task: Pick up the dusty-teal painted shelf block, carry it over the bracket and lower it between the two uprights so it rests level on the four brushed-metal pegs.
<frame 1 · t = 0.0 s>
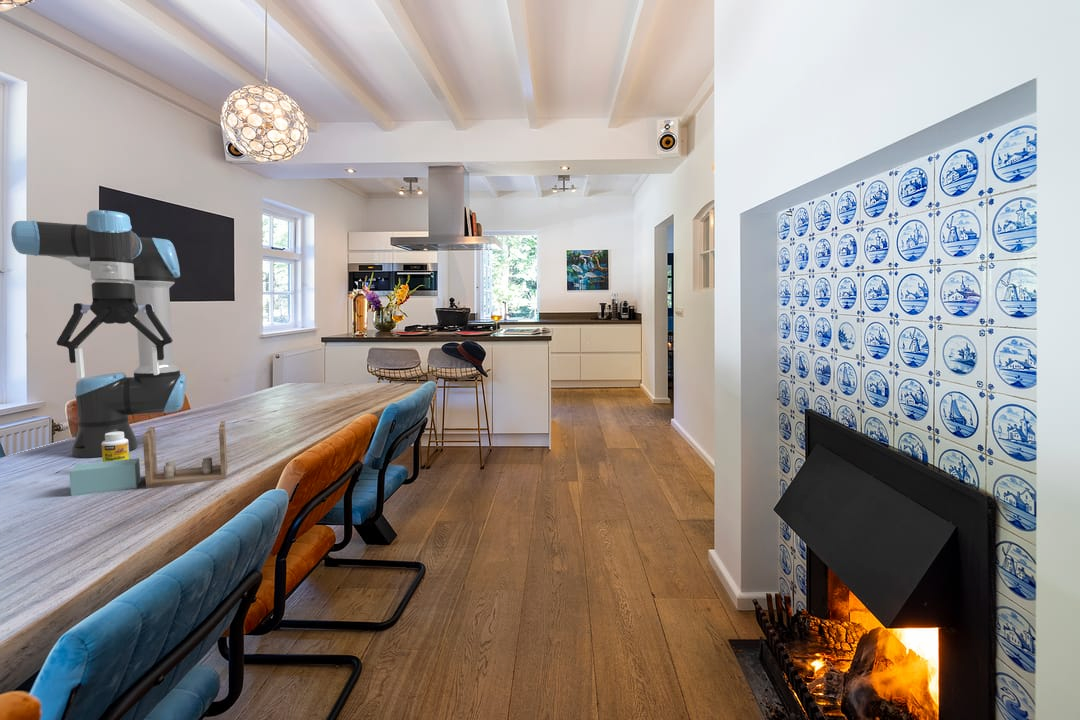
hand: (119, 376, 118), 28 cm above the table, fingers open, 13 cm apart
shelf board: (107, 488, 125), on the table
supplement bottle: (117, 471, 138), on the table
peg bracket: (189, 477, 133), on the table
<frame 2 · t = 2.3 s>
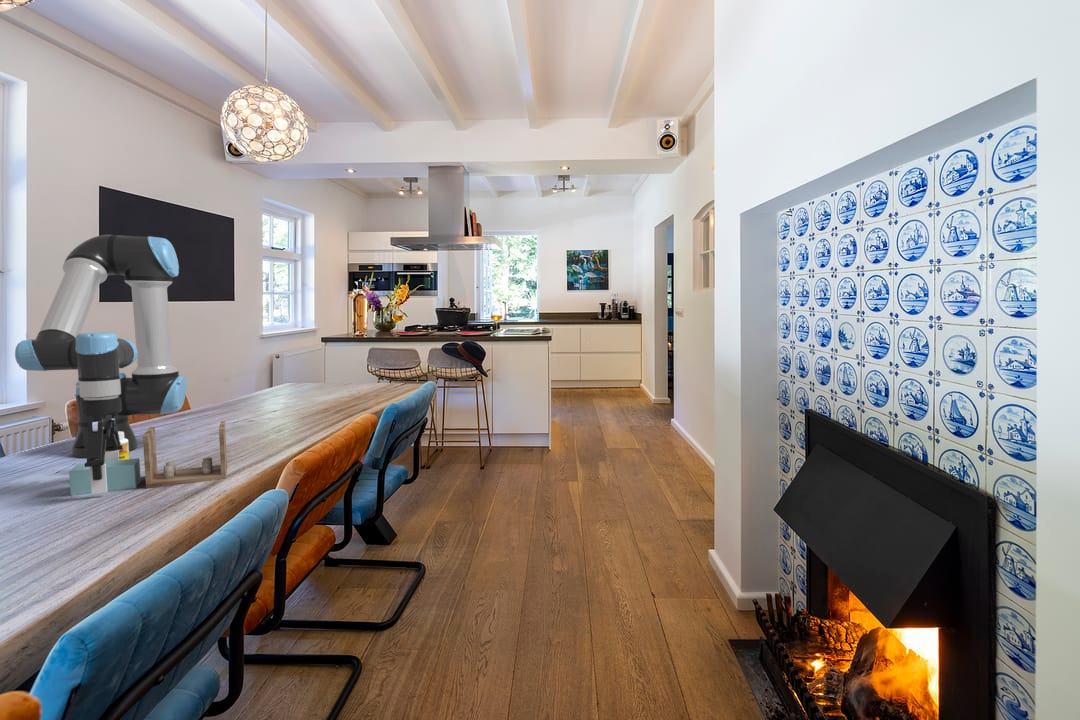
hand: (106, 484, 124), 1 cm above the table, fingers open, 13 cm apart
nothing on the table moved.
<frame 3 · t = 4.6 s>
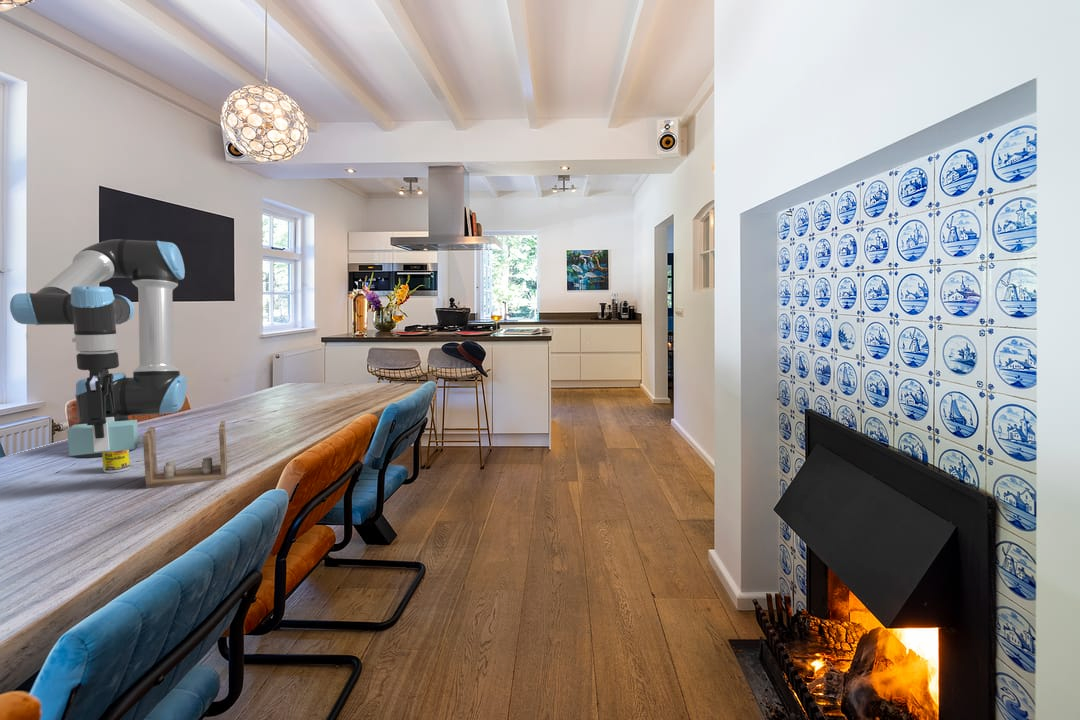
hand: (105, 446, 124), 10 cm above the table, fingers closed on shelf board, 6 cm apart
shelf board: (105, 449, 124), point 9 cm above the table, touching gripper
everything else where it was.
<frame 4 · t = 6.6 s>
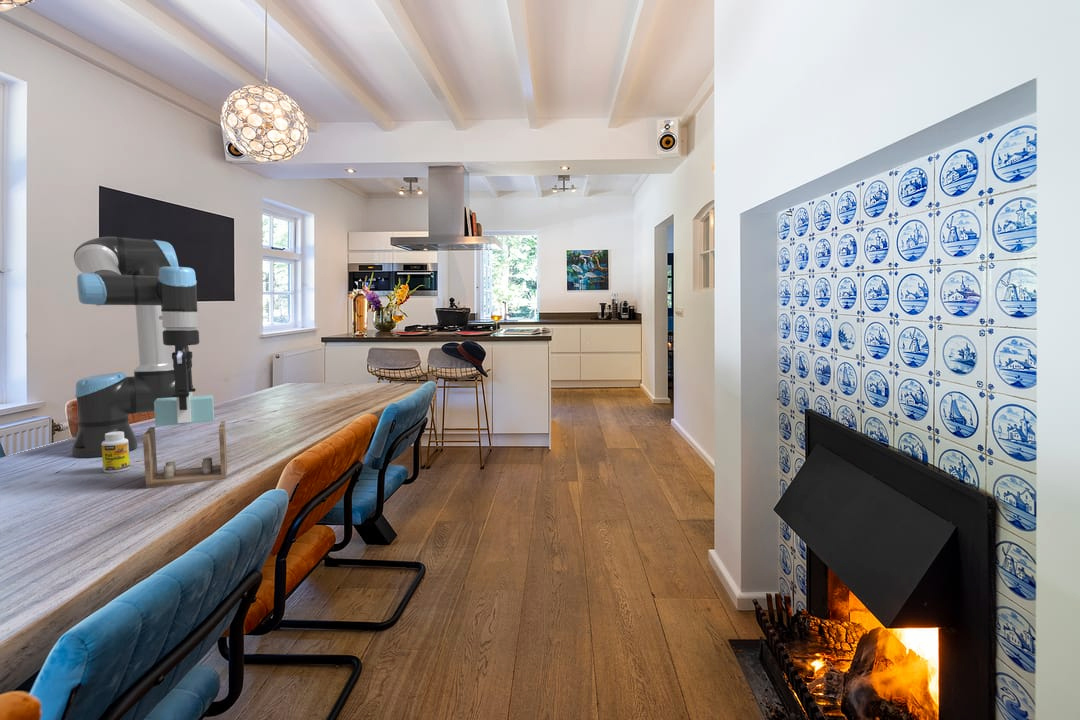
hand: (186, 419, 131), 15 cm above the table, fingers closed on shelf board, 6 cm apart
shelf board: (185, 421, 131), point 15 cm above the table, touching gripper
everything else where it was.
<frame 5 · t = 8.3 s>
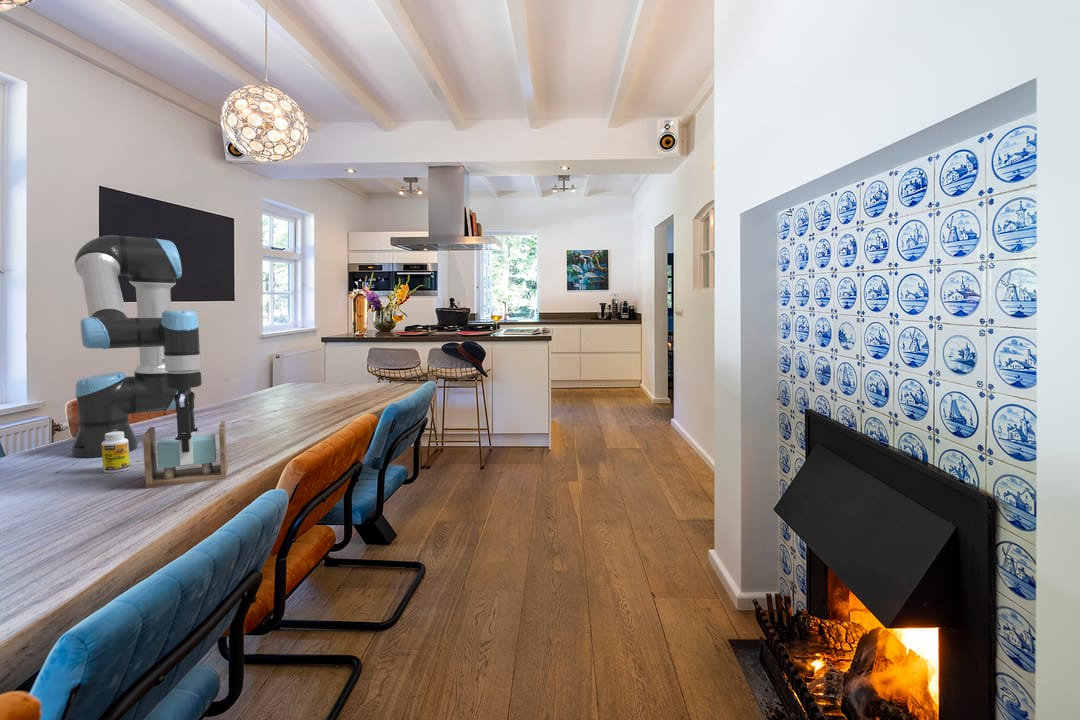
hand: (188, 460, 132), 4 cm above the table, fingers closed on shelf board, 6 cm apart
shelf board: (188, 462, 132), point 4 cm above the table, touching gripper, peg bracket
everything else where it was.
when the fingers open (4 cm above the table, at t = 9.2 s): shelf board stays where it is, resting on peg bracket.
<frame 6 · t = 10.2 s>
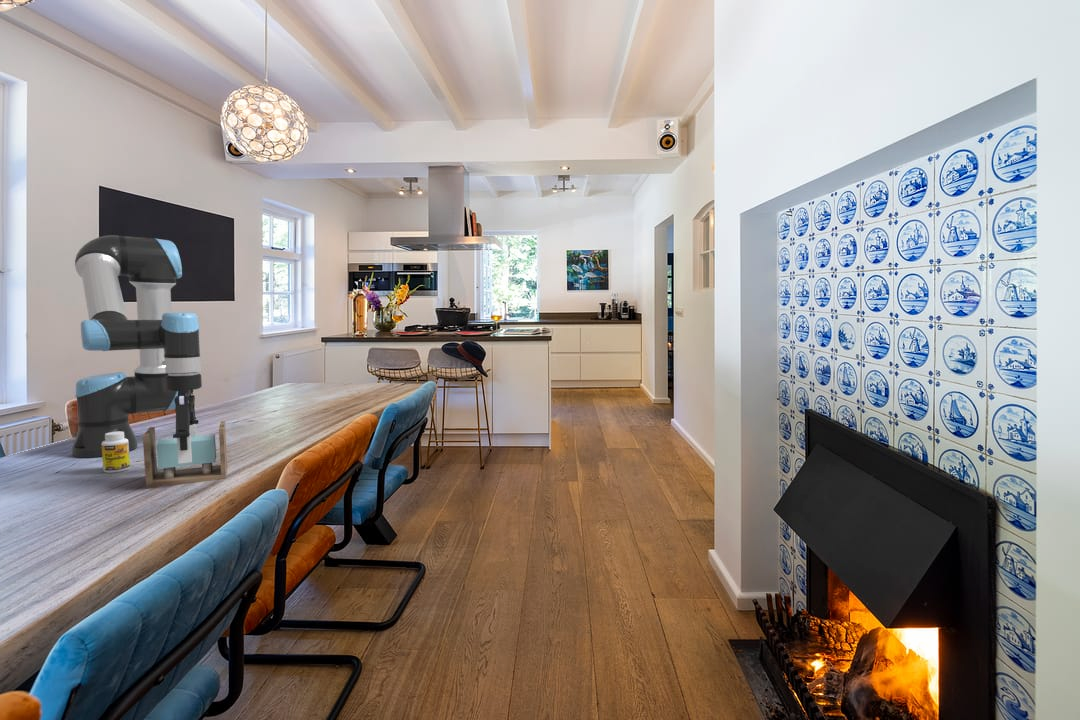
hand: (188, 455, 132), 6 cm above the table, fingers open, 13 cm apart
shelf board: (188, 462, 132), point 4 cm above the table, touching peg bracket
everything else where it was.
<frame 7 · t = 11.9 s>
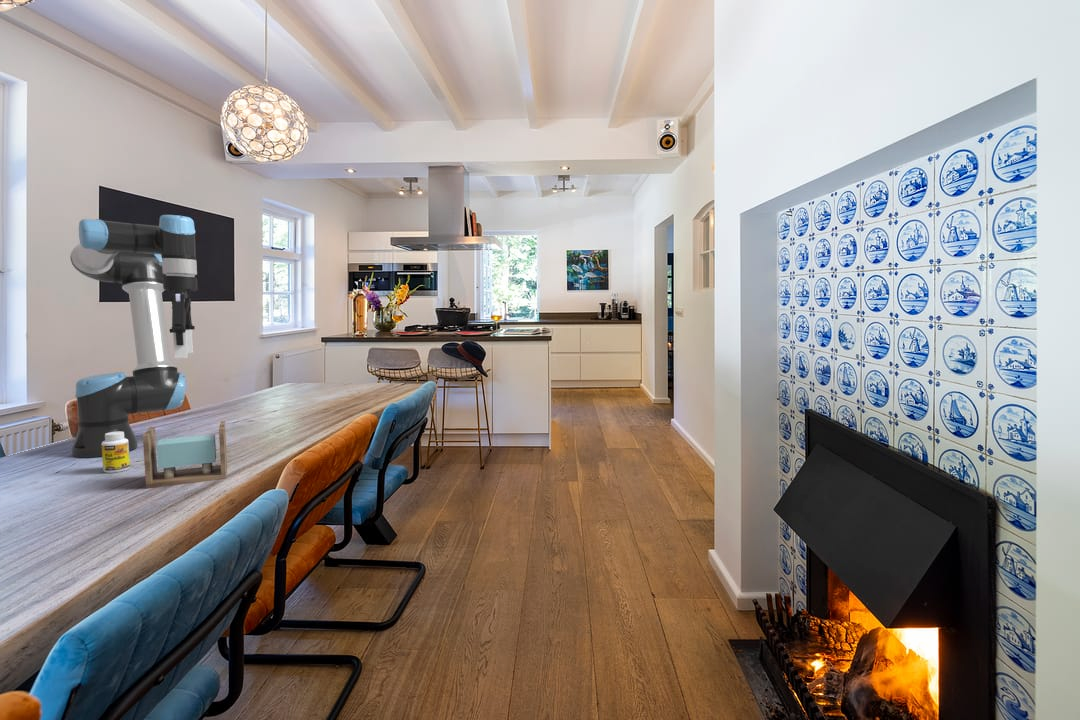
hand: (184, 355, 139), 31 cm above the table, fingers open, 13 cm apart
nothing on the table moved.
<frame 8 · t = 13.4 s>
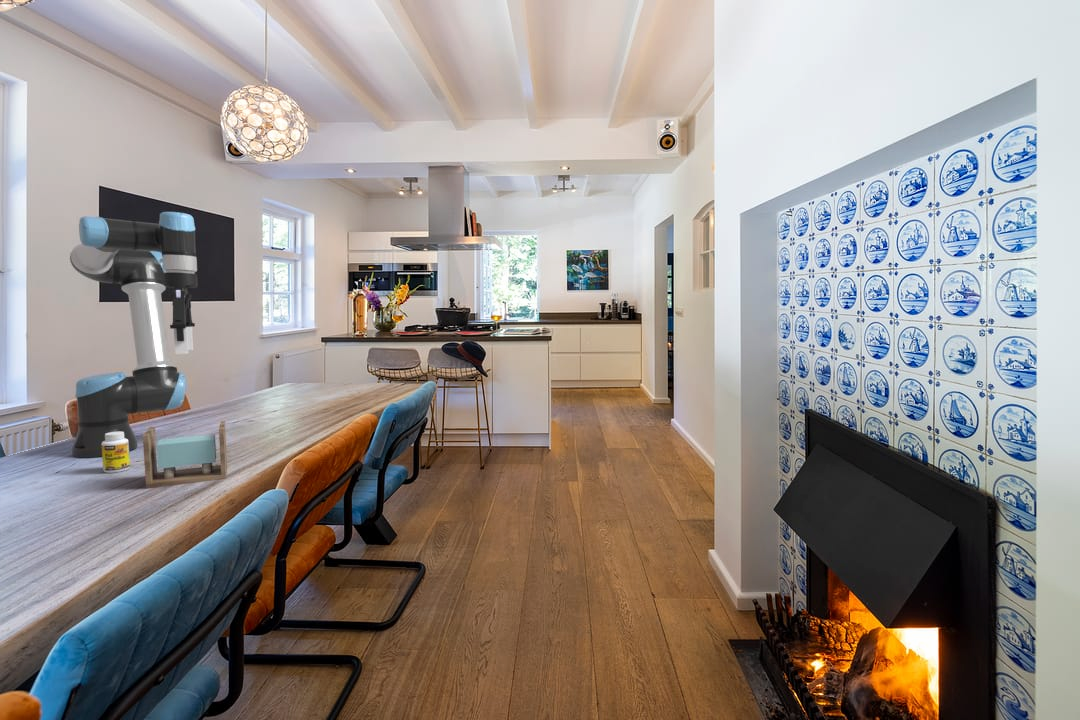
hand: (184, 352, 139), 32 cm above the table, fingers open, 13 cm apart
nothing on the table moved.
at the end: shelf board 0.0 cm off-centre on the peg bracket, point 4.0 cm above the peg bracket's base; shelf board tilted 0°; the gripper is holding nothing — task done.
